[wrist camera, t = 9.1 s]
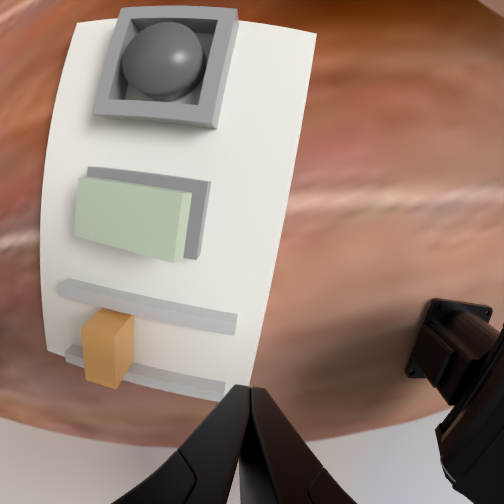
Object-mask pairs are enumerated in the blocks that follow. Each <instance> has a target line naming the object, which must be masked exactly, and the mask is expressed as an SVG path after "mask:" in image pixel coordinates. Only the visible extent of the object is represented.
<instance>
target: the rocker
mask: <svg viewBox="0 0 504 504" xmlns="http://www.w3.org/2000/svg"><path fill="white" fill-rule="evenodd" d="M191 198H192V193H190V192H184V191H179V190H173V189H167V188H161V187H155V186H148V185H142V184H136V183H129V182H123V181H116V180H109V179H102V178H95V177H79V178H78V187H77V198H76V210H75V225H74V236H77V237H81V238H84V239H88V240H91V241H95V242H98V243H102V244H105V245H109V246H112V247H116V248H120V249H123V250H127V251H131V252H134V253H138V254H142V255H145V256H149V257H153V258H156V259H160V260H164V261H168V262H172V263H175V262H177V261H179V260H181V259H183V256H184V248H185V240H186V233H187V226H188V219H189V212H190V205H191Z"/></svg>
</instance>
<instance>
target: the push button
mask: <svg viewBox="0 0 504 504" xmlns="http://www.w3.org/2000/svg"><path fill="white" fill-rule="evenodd" d="M122 67H123V73H124V75H125V77H126V79H127V81H128V82H129V83H130V84H131V85H132V86H133V87H135V88H136V89H138V90H139V91H141V92H142V93H144V94H145V95H147V96H149V97H150V98H153V99H155V100H160V101H170V100H175V99H178V98H181V97H183V96H185V95H187V94H188V93H190V92H191V91H192V90H194V89H195V88H196V87H197V85H198V84H199V83H200V81H201V80H202V78H203V76H204V73H205V70H206V57H205V54H204V51H203V49H202V47H201V45H200V43H199V40H198V38H197V36H196V35H195V33H194V32H193V31H192V30H191V29H190V28H188V27H187V26H185V25H183V24H180V23H175V22H162V23H157V24H154V25H151V26H149V27H147V28H145V29H144V30H142V31H141V32H139V33H138V34H137V35H136V36H135V37H134V38H133V39H132V40H131V41H130V43H129V44H128V46H127V48H126V50H125V53H124V56H123V61H122Z"/></svg>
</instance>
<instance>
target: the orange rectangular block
mask: <svg viewBox="0 0 504 504" xmlns="http://www.w3.org/2000/svg"><path fill="white" fill-rule="evenodd" d="M81 333H82V347H83V358H84V368H85V377H86V380H87V381H90V382H93V383H96V384H99V385H103V386H106V387H109V388H112V389H117V387H118V386H119V384H120V382H121V381H122V379H123V377H124V376H125V374H126V373H127V371H128V369H129V368H130V366H131V364H132V363H133V349H134V315H131V314H126V313H122V312H118V311H114V310H110V309H106V308H102V309H101V310H99V311H98V312H97V313H96V314H95V315H94V316H93V317H92V318H91V319H90V320H89V321H88V322H87V323H86V324H85V325H84V326H82V327H81Z"/></svg>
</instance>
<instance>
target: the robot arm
mask: <svg viewBox="0 0 504 504" xmlns="http://www.w3.org/2000/svg"><path fill="white" fill-rule="evenodd" d="M437 304H439V306H438V307H437V308H436V306H437ZM487 311H488V312H487ZM491 315H492V308H491V307H489V306H486V305H479V304H473V303H466V302H459V301H452V300H446V299H439V298H437V299H434V300H433V301H432V303H431V305H430V308H429V311H428V314H427V317H426V319H425V322H424V325H423V327H422V329H421V332H420V334H419V337H418V339H417V342H416V345H415V347H414V349H413V352H412V354H411V358H410V360H409V363H408V365H407V367H406V369H405V374H406V375H407V377H408V378H427V380H428V381H429V382H430V384H431V385H432V386H433V387H434V388H436V389H437V390H438V391H439V393H440V394H441V395H442V397H443V398H444V400H445V401H446V402H447V404H448V405H450V406H452V405H454V407H453V409H452V410H451V411H450V413H449V414H448V415H447V417H446V418H445V419H444V421H443V422H442V423H440V424H439V425H438V426H437V428H436V429H435V432H436V437H437V442H438V447H439V451H440V456H441V458H440V461H441V465H442V468H443V471H444V474H445V477H446V478H447V479H448V480H449V481H450V482H451V484H452V487H453V489H454V490H456V491H458V492H459V493H461V494H463V495H464V496H466V497H467V498H468V499H469V500H470V501H471V502H473V503H474V504H504V323H503V328H502V330H501V332H499V331H497V330H496V329H495V328H493V327H492V326H491V325H490V324H488V323H489V320H490V318H491ZM412 370H413V371H412ZM411 371H412V372H411ZM238 460H239V475H240V500H241V504H357V503H356V502H355V501H354V500H353V499H352V498H351V497H350V496H349V495H348V494H347V493H346V492H345V491H344V490H343V489H342V488H341V487H340V486H339V484H337V482H336V481H335V480H334V479H333V478H332V476H331V475H330V474H329V473H328V471H327V470H326V469H325V468H323V465H322V464H321V463H320V461H319V460H318V459H317V458H316V456H315V455H314V454H313V452H312V451H311V450H310V449H309V447H308V446H307V445H306V443H305V442H304V441H303V439H302V438H301V437H300V435H299V434H298V433H297V431H296V430H295V429H294V427H293V426H292V425H291V423H290V422H289V421H288V419H287V418H286V417H285V415H284V414H283V412H282V411H281V410H280V408H279V407H278V406H277V404H276V403H275V401H274V400H273V399H272V397H271V396H270V394H269V393H268V392H267V390H266V389H265V388H259V387H250V388H249V386H245V385H239V384H235V385H234V386H233V387H232V388H231V389H230V390H229V391H228V393H227V394H226V395H225V396H224V397H223V398H222V400H221V401H220V402H219V403H218V404H217V405H216V407H215V408H214V409H213V410H212V411H211V412H210V413H209V415H208V416H207V417H206V418H205V419H204V420H203V421H202V423H201V424H200V425H199V426H198V427H197V428H196V429H195V430H194V432H193V433H192V434H191V435H190V436H189V437H188V438H187V439H186V440H185V441H184V443H183V444H182V445H181V446H180V447H179V448H178V449H177V451H175V452H174V453H173V454H172V455H171V456H170V457H169V459H168V460H167V461H166V462H165V463H164V464H162V466H160V467H159V468H158V469H157V470H156V471H155V472H154V473H153V474H151V475H150V476H149V477H148V478H146V479H145V480H144V481H143V482H141V483H140V484H139V485H137V486H136V487H134V488H133V489H132V490H130V491H129V492H127V493H126V494H125V495H123V496H121V497H120V498H119V499H117V500H116V501H114V502H113V503H111V504H226V503H227V499H228V496H229V492H230V489H231V485H232V482H233V478H234V474H235V471H236V467H237V463H238Z"/></svg>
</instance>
